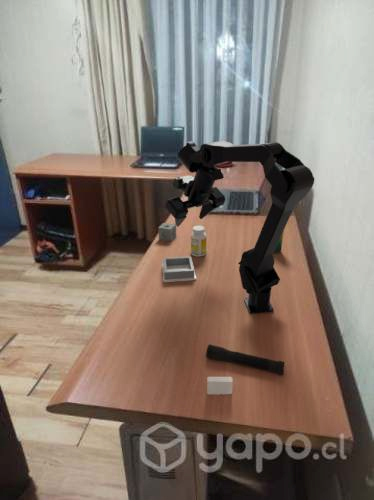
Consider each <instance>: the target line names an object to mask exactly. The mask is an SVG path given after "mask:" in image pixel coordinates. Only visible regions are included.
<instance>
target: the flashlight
mask: <svg viewBox="0 0 374 500" xmlns="http://www.w3.org/2000/svg"><path fill="white" fill-rule="evenodd" d="M205 358H206V359H211V360H216V361H221V362H224V361H225V362H229V363H233V364H238V365H243V366H246V367H250V368H256V369H259V370H264V371H267V372H271V373H272V372H273V373H276V374H278V375H281V376H283V375H284V369H285V364H286V363H285V361H281V360H278V361H277V360H273V359H269V358H264V357H261V356H256V355H251V354H247V353H242V352H238V351H233V350H229V349H226V348H224V347H222V346H218V345H214V344H210V343H209V344H208V345H207V347H206V354H205Z"/></svg>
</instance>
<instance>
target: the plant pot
mask: <svg viewBox="0 0 374 500" xmlns="http://www.w3.org/2000/svg"><path fill="white" fill-rule="evenodd" d="M232 165H233V162H226V163H222V164H218V165H216V167H221V168H226V167H230V166H232Z"/></svg>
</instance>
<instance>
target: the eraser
mask: <svg viewBox="0 0 374 500" xmlns="http://www.w3.org/2000/svg"><path fill="white" fill-rule="evenodd" d="M206 379H207V380H206V381H207V382H206V392H207V393H206V394H207V395H220V394H223V395H224V394H225V395H226V394H233V385H234V384H233V383H234V382H233V377H232V376H207V378H206ZM223 395H222V396H223ZM225 395H224V396H225Z"/></svg>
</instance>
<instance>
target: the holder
mask: <svg viewBox="0 0 374 500" xmlns="http://www.w3.org/2000/svg"><path fill="white" fill-rule="evenodd" d="M161 271H162V282H163V283H170V282H171V283H172V282H174V283H175V282H187V281H188V282H189V281H197V276H196V272H195V267H194V263H193V259H192V256H189V255H188V256H175V257H174V256H173V257H163V259H162V264H161Z"/></svg>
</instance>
